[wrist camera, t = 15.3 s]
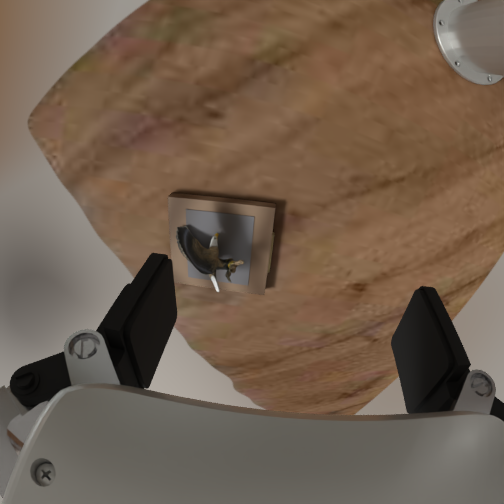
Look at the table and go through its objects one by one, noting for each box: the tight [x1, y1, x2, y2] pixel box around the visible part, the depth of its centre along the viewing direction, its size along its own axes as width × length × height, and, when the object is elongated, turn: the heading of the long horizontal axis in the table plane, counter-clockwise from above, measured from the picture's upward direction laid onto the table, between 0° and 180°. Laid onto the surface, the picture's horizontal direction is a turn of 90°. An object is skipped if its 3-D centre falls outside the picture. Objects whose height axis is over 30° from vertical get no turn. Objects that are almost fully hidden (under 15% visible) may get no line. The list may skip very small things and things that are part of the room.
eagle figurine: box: [176, 226, 244, 292], centre depth 40 cm, size 8×7×9 cm
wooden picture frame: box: [168, 193, 276, 295], centre depth 43 cm, size 14×14×2 cm
